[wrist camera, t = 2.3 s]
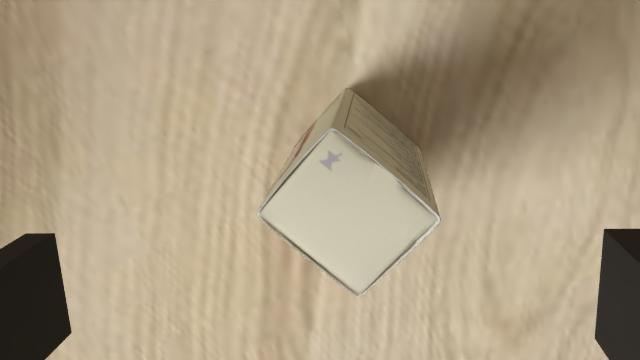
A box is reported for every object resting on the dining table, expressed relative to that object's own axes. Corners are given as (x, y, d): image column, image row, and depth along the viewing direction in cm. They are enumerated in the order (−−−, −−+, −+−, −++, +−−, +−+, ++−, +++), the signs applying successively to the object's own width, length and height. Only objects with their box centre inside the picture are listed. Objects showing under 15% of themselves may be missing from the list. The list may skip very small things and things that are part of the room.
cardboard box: (291, 149, 30) (246, 210, 20) (347, 83, 29) (329, 116, 19) (367, 215, 31) (358, 305, 21) (426, 153, 29) (446, 219, 20)
